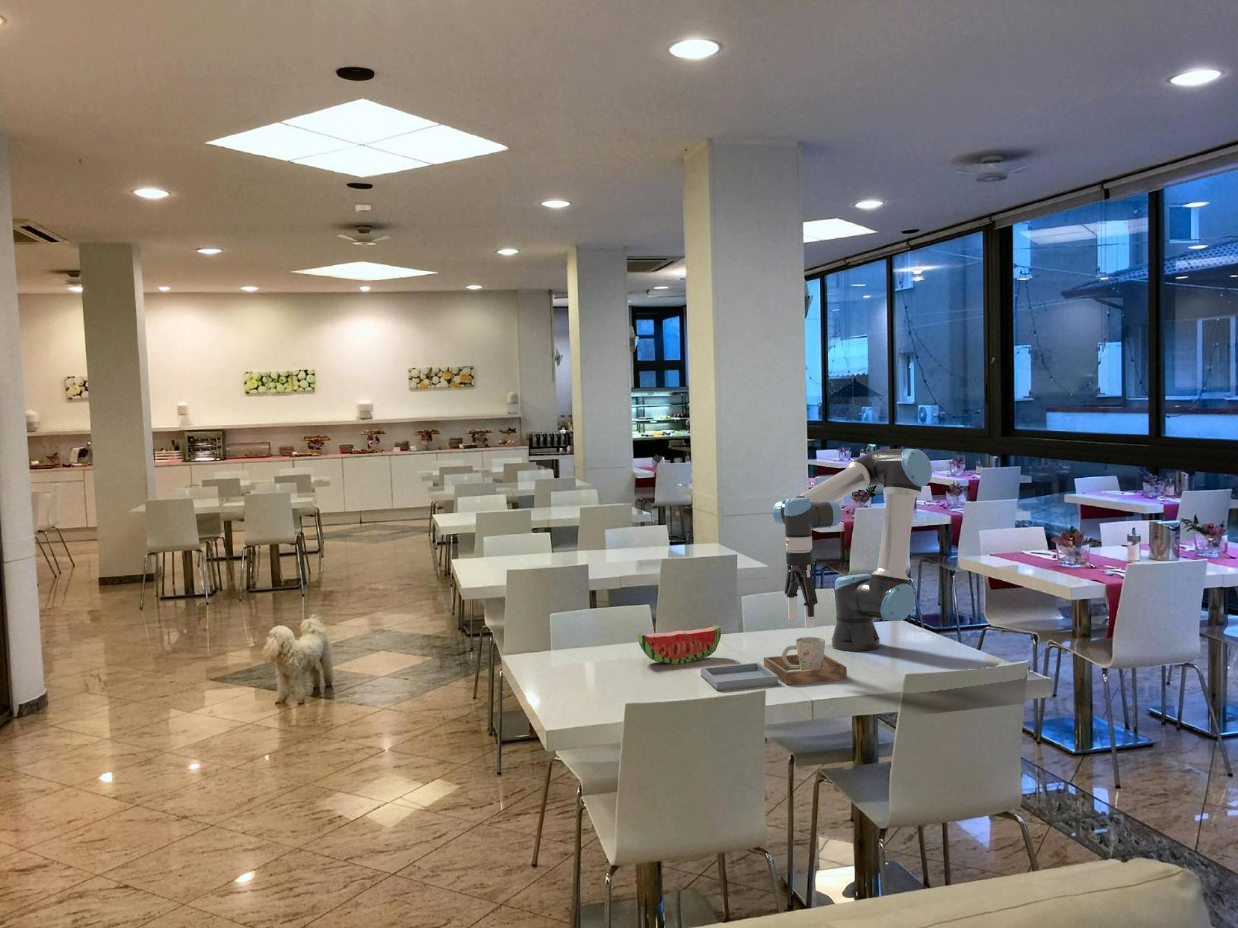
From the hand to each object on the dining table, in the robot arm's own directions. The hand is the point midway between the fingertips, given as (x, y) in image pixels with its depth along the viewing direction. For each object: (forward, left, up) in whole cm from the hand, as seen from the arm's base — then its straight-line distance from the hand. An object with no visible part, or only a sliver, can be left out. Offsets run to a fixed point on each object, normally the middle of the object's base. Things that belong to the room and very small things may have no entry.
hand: (801, 623), depth 289 cm
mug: (0, 0, -15) cm, 15 cm away
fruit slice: (+30, -29, -15) cm, 44 cm away
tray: (+20, 0, -15) cm, 25 cm away
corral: (0, 0, -15) cm, 15 cm away
